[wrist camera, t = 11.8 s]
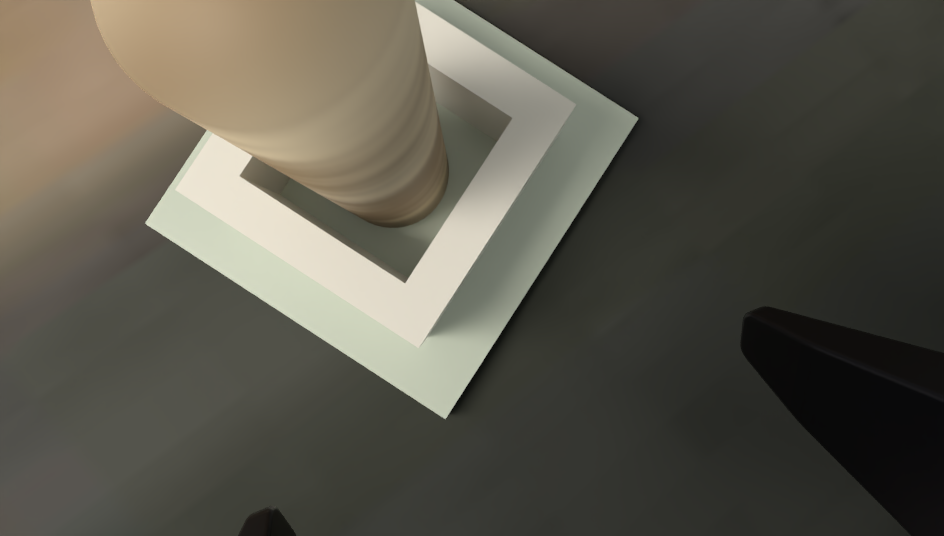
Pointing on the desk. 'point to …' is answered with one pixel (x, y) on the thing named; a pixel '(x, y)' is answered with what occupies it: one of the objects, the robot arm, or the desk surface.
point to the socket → (431, 239)
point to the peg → (299, 90)
